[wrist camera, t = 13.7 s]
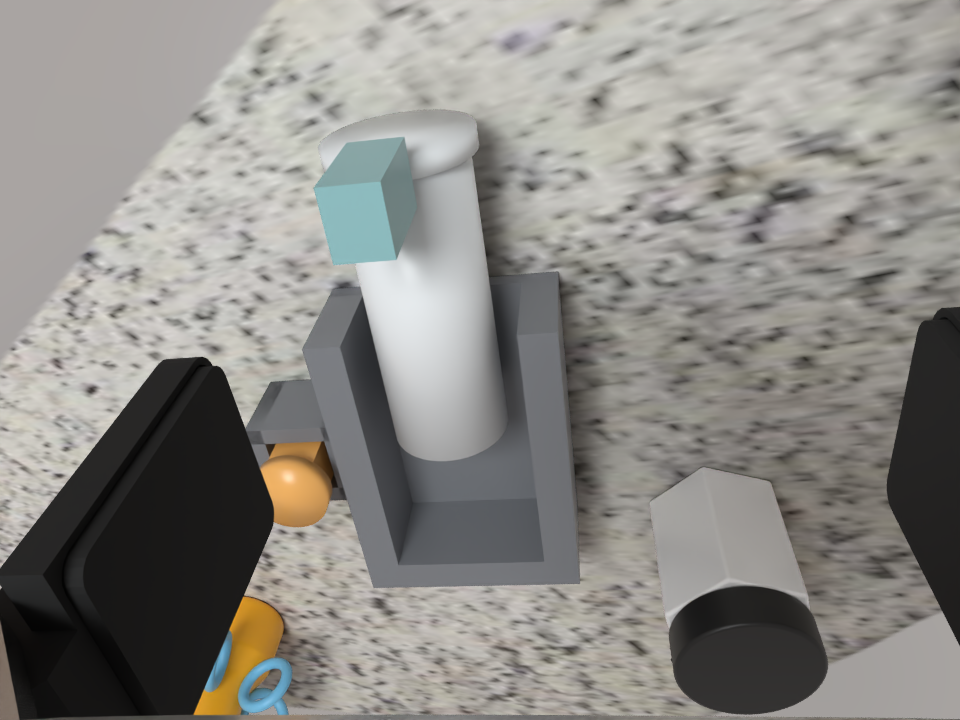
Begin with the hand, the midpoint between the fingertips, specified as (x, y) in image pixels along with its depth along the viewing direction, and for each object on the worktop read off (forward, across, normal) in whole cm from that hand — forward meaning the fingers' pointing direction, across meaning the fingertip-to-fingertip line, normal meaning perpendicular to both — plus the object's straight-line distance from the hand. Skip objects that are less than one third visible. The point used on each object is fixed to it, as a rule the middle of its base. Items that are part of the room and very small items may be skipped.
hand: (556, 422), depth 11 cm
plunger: (+29, +17, +22) cm, 40 cm away
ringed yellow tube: (+31, +28, +42) cm, 59 cm away
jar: (+31, -8, +32) cm, 45 cm away
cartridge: (+29, +8, +11) cm, 32 cm away
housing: (+30, +10, +22) cm, 39 cm away
